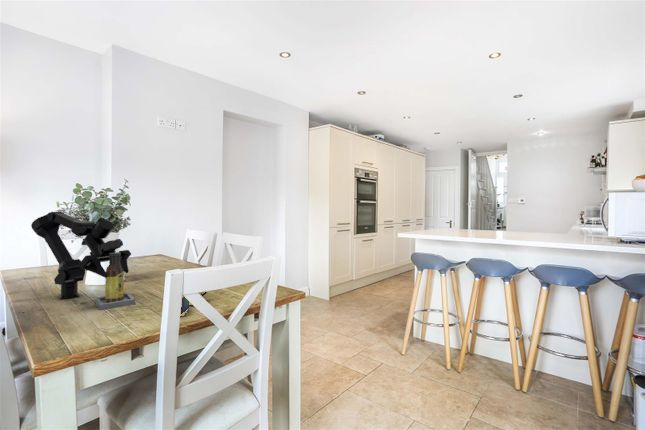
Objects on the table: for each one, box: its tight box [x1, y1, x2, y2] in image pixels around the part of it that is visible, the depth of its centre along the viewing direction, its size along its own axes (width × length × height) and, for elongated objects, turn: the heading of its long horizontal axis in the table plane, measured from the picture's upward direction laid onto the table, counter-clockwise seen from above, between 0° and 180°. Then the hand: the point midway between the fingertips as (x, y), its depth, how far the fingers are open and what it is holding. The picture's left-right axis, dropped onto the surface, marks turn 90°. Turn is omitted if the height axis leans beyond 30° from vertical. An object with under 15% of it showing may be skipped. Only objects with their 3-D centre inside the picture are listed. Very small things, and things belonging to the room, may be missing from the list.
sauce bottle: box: [104, 251, 125, 303], centre depth 129 cm, size 6×6×20 cm
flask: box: [181, 297, 190, 314], centre depth 119 cm, size 9×3×11 cm, turn 8°
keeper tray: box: [94, 292, 136, 311], centre depth 129 cm, size 12×12×2 cm
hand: (117, 274), depth 128 cm, fingers open, 9 cm apart
